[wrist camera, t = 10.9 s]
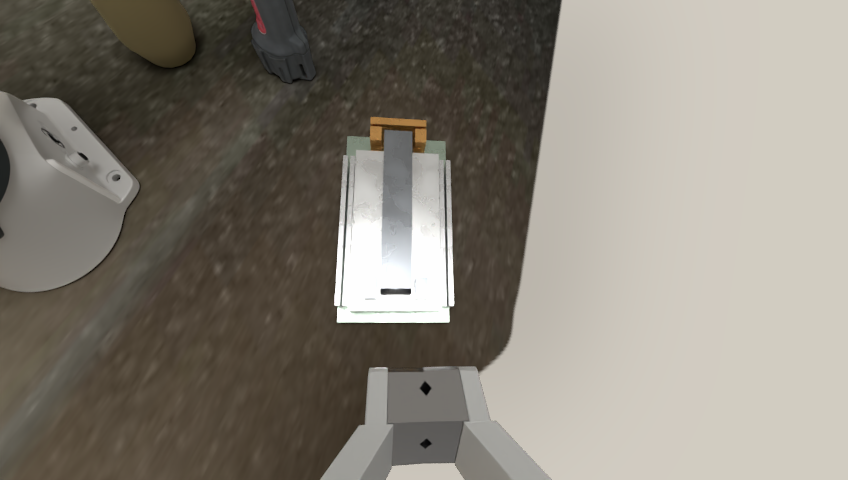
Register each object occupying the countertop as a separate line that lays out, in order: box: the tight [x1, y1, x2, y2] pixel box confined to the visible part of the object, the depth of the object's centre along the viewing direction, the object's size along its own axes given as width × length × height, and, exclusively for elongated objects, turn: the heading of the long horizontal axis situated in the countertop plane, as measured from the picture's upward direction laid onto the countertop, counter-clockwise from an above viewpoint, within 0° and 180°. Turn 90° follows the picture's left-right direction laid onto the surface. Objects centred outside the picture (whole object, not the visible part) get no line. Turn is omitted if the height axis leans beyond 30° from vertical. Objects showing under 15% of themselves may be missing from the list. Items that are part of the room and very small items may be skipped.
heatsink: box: [334, 117, 454, 323], centre depth 38 cm, size 22×12×8 cm, turn 0°
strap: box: [380, 130, 412, 294], centre depth 36 cm, size 18×3×1 cm, turn 0°
